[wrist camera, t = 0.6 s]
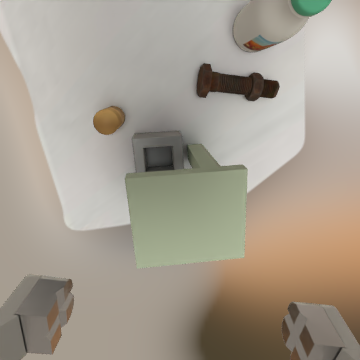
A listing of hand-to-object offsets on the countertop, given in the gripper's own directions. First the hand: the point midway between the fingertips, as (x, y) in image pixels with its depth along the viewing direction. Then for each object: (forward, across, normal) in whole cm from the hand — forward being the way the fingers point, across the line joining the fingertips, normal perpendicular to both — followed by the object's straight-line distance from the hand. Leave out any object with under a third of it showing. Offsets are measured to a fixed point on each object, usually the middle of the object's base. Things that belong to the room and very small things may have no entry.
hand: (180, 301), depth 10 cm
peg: (+43, +14, +3) cm, 45 cm away
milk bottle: (+48, -10, -15) cm, 51 cm away
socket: (+44, +5, +9) cm, 45 cm away
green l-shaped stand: (+44, +2, +9) cm, 45 cm away
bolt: (+47, -9, -5) cm, 48 cm away
